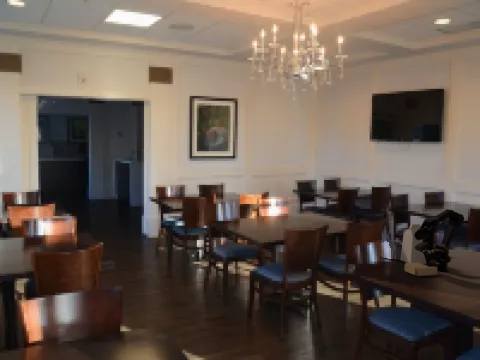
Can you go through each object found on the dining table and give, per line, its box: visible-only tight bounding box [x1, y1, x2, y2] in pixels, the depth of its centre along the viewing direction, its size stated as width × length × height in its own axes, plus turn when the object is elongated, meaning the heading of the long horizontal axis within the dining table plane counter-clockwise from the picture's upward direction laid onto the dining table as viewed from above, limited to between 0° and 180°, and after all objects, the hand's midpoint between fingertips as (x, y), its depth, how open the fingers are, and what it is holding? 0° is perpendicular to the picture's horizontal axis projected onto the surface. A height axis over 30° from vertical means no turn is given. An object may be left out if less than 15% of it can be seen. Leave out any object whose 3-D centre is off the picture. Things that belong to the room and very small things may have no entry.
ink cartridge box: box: [380, 237, 397, 260], centre depth 321 cm, size 10×6×14 cm, turn 55°
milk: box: [400, 223, 427, 265], centre depth 313 cm, size 12×12×26 cm
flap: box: [415, 266, 438, 277], centre depth 281 cm, size 14×1×5 cm, turn 108°
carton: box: [404, 262, 430, 276], centre depth 286 cm, size 10×10×5 cm
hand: (427, 263), depth 288 cm, fingers closed
